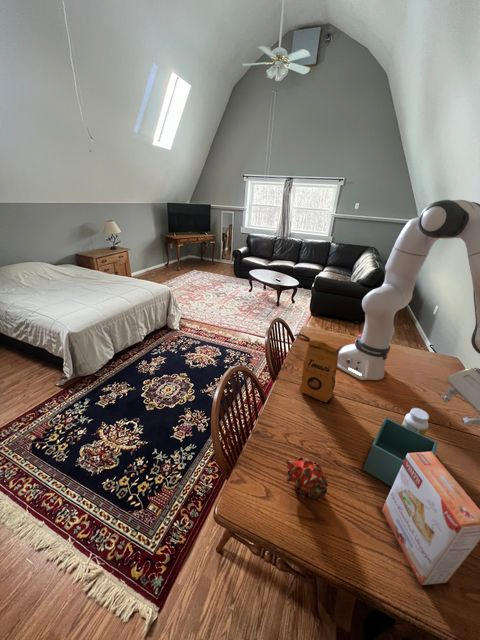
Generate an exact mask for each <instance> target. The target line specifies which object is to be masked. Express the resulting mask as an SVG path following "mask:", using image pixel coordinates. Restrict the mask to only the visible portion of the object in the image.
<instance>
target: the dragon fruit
mask: <svg viewBox="0 0 480 640" xmlns="http://www.w3.org/2000/svg"><path fill="white" fill-rule="evenodd" d="M285 463H286V464H287V465H286V468H287V474H288V476H289V477H286V484H287V485H289V483H290V482H292V483H295V486H296V487H295V491H296V492H297V493H300V496H301V497H302V498H305V497H306V495H308V497H309V499H310V500H312V501H316V499H317V498H319V499H320V498H322V497H324V496H326V494H327V493H328V486H329V483H328V480H327V476H326V475H325V474H324V473H323V469H322V467H321V465H320V464H319V463H318V462H315V461H314V460H313V461H312V460H310V459H308V458H306V457H304V456H300V457H299V458H295V459H290V460H286V461H285Z"/></svg>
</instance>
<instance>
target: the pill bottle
mask: <svg viewBox="0 0 480 640" xmlns="http://www.w3.org/2000/svg"><path fill="white" fill-rule="evenodd" d="M429 418H430V415H429V414H428V413H427V411H425V410H424V409H422V408H418V407H413V408H411V409H410V411H409V413H406V414H405V416H404V419H403V421H402V424H401V425H403V426H405V427H407V428H409V429H411V430H413V431H415V432H417V433H419V434H421V435H423V436H426V433H427V430H428V428H429V422H428V420H429Z"/></svg>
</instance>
